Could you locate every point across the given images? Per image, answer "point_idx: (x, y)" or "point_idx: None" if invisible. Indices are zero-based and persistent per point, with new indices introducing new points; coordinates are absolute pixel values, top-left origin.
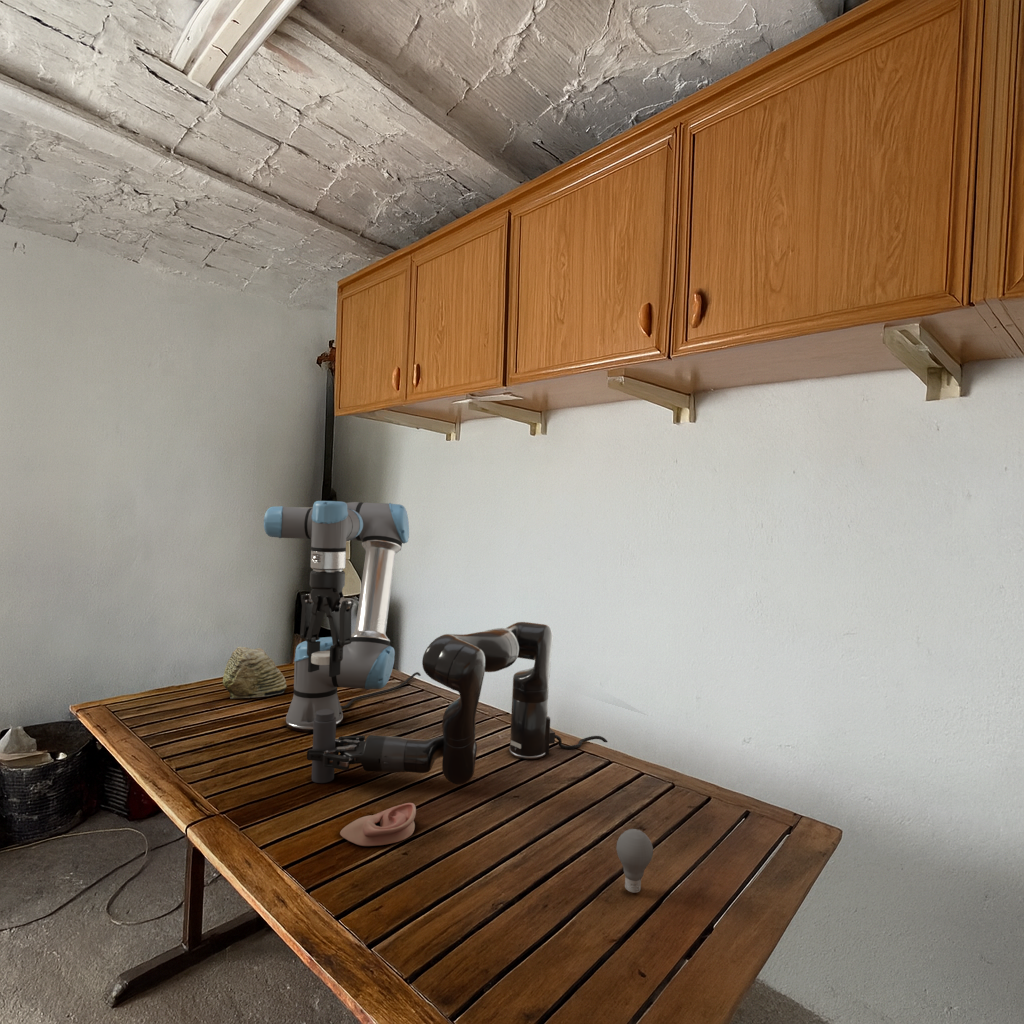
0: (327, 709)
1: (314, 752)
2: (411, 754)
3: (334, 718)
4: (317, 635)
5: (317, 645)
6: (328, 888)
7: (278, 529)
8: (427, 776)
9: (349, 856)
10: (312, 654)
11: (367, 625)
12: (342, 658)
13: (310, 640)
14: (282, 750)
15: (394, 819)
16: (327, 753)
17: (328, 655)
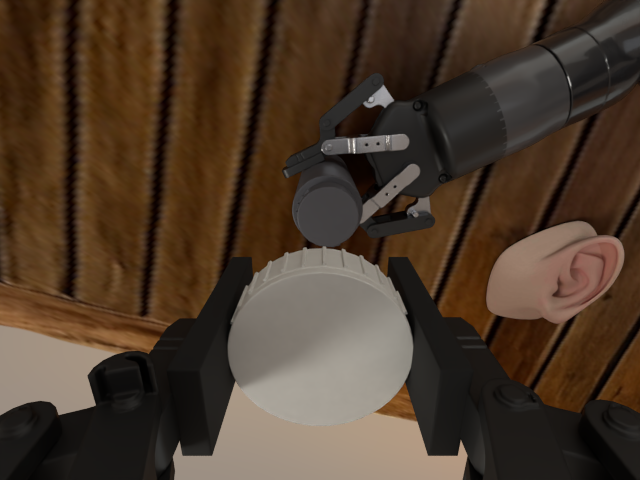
0: (317, 196)
1: None
2: (581, 119)
3: (349, 190)
4: (155, 437)
5: (212, 374)
6: (543, 393)
7: None
8: (533, 26)
9: (531, 338)
10: (269, 409)
11: None
12: (473, 329)
13: (172, 463)
14: (129, 112)
15: (579, 269)
16: (374, 230)
17: (375, 371)
